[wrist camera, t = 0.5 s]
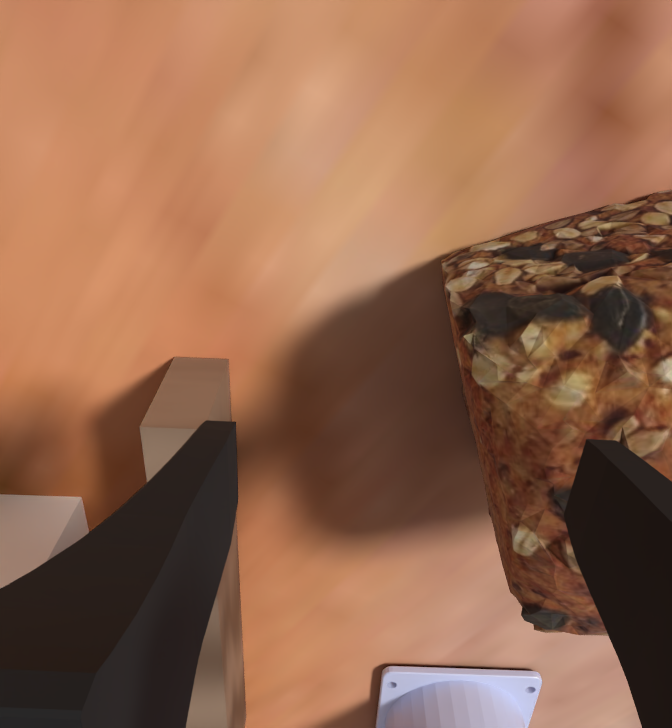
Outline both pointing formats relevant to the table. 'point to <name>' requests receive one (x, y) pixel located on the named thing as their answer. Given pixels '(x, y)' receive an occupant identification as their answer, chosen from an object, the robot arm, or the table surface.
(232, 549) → the board
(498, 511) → the bread
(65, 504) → the block
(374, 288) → the table surface
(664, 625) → the robot arm
